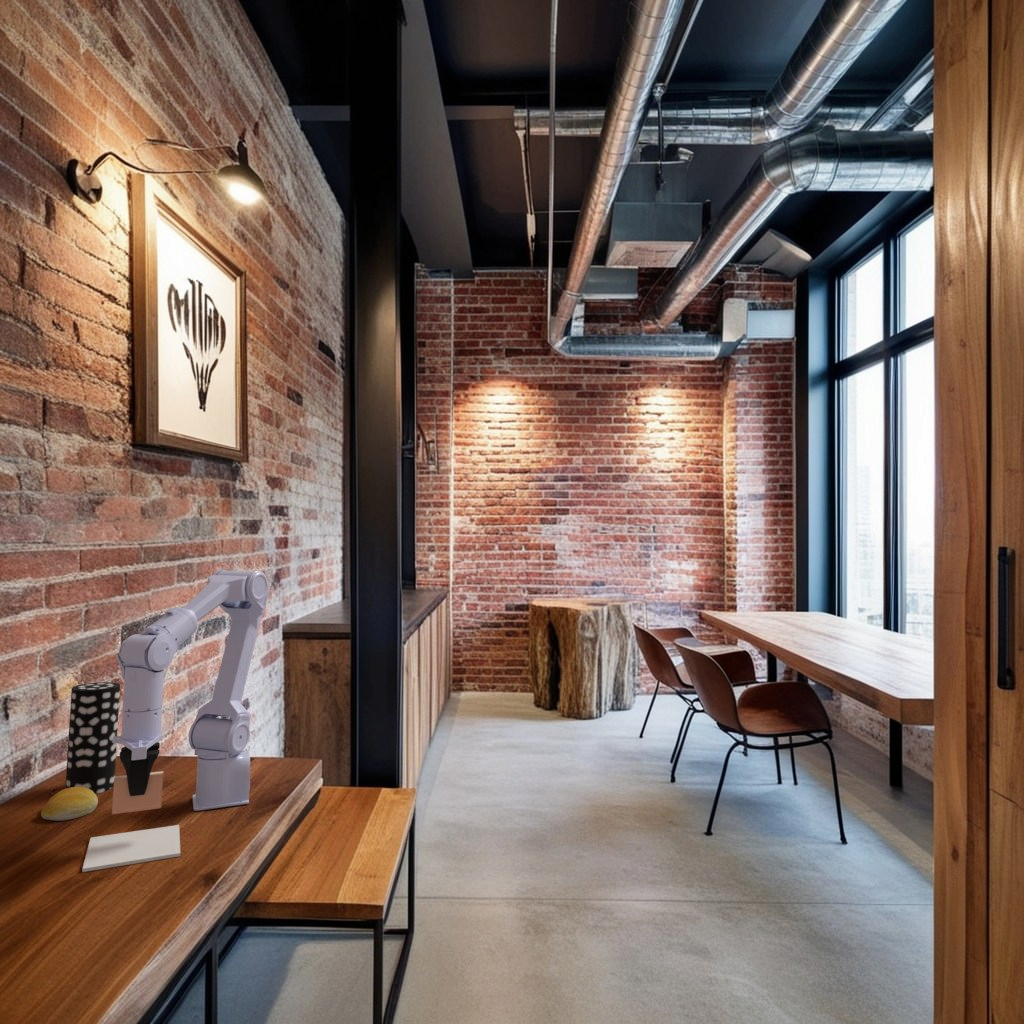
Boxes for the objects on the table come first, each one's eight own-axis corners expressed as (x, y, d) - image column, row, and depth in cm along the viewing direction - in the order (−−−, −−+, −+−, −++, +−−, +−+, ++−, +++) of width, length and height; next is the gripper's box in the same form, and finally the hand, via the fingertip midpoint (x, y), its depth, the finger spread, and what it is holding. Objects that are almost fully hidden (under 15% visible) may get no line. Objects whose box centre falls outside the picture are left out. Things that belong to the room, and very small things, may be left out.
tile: (161, 805, 112) (163, 771, 113) (161, 807, 111) (163, 773, 111) (112, 811, 109) (114, 776, 109) (111, 814, 108) (114, 779, 108)
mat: (179, 827, 116) (179, 824, 116) (180, 856, 105) (180, 852, 105) (90, 840, 110) (90, 837, 110) (82, 872, 100) (82, 868, 100)
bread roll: (35, 825, 116) (37, 801, 117) (50, 807, 125) (52, 784, 125) (91, 819, 119) (92, 796, 119) (102, 802, 128) (103, 780, 128)
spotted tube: (122, 786, 135) (128, 685, 137) (77, 798, 128) (84, 692, 130) (101, 778, 140) (107, 680, 141) (56, 789, 133) (63, 686, 134)
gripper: (117, 701, 116) (112, 782, 115) (111, 720, 103) (105, 812, 102) (163, 698, 119) (159, 776, 118) (163, 716, 106) (158, 805, 105)
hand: (137, 792), depth 110 cm, fingers closed on tile, 1 cm apart
